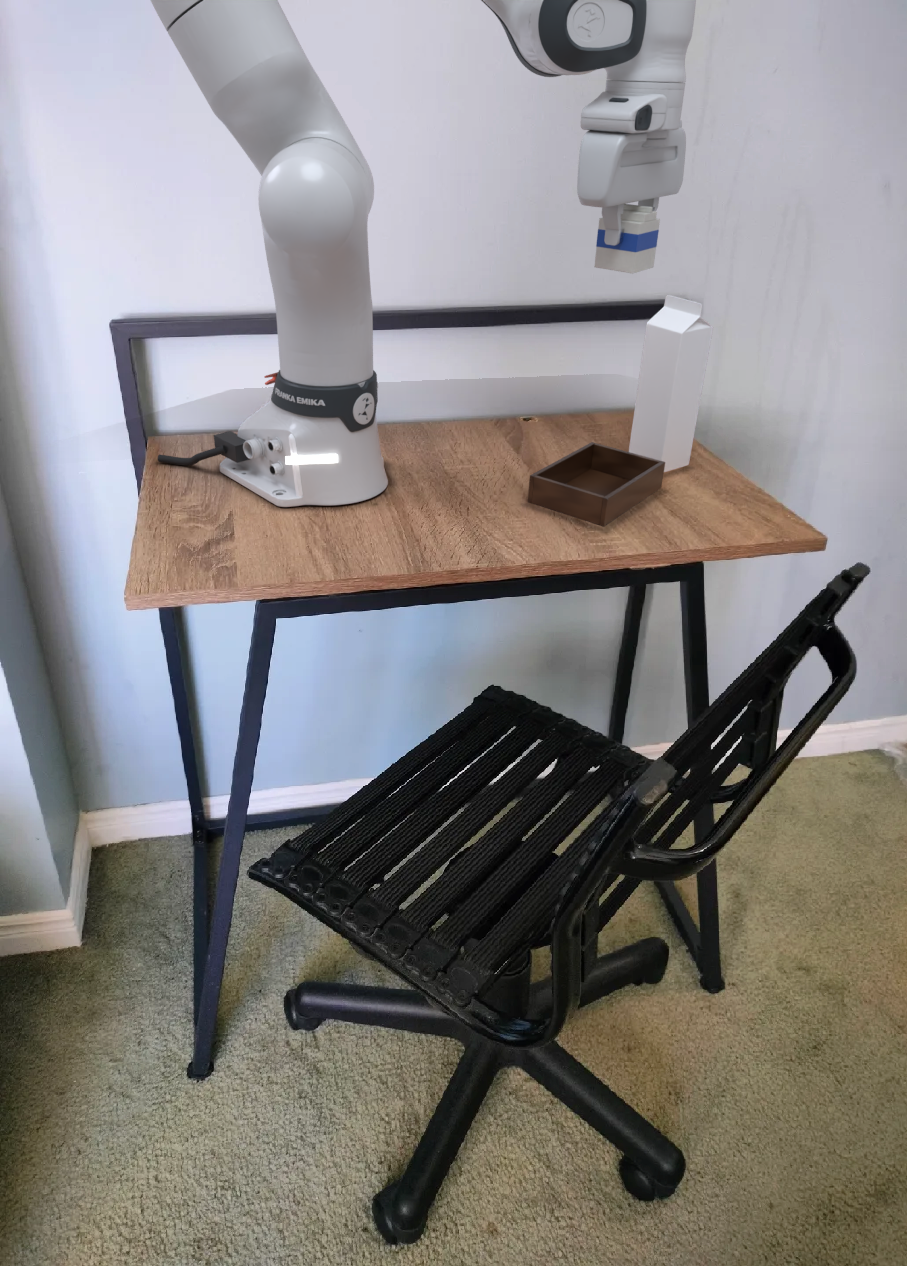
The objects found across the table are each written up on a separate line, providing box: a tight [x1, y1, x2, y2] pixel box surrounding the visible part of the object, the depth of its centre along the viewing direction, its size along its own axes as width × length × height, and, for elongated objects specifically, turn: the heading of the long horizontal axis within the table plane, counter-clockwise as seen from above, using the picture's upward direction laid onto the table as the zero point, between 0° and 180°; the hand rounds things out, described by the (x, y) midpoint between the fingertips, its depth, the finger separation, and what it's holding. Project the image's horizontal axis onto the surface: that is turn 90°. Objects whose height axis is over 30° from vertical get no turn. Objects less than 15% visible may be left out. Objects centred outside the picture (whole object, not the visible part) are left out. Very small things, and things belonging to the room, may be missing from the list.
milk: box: [628, 294, 714, 473], centre depth 120 cm, size 6×6×22 cm
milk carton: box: [593, 203, 661, 275], centre depth 112 cm, size 5×5×7 cm
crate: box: [527, 441, 665, 528], centre depth 115 cm, size 11×15×4 cm
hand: (626, 240), depth 112 cm, fingers closed on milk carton, 5 cm apart
